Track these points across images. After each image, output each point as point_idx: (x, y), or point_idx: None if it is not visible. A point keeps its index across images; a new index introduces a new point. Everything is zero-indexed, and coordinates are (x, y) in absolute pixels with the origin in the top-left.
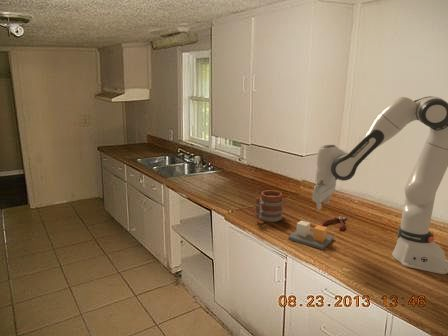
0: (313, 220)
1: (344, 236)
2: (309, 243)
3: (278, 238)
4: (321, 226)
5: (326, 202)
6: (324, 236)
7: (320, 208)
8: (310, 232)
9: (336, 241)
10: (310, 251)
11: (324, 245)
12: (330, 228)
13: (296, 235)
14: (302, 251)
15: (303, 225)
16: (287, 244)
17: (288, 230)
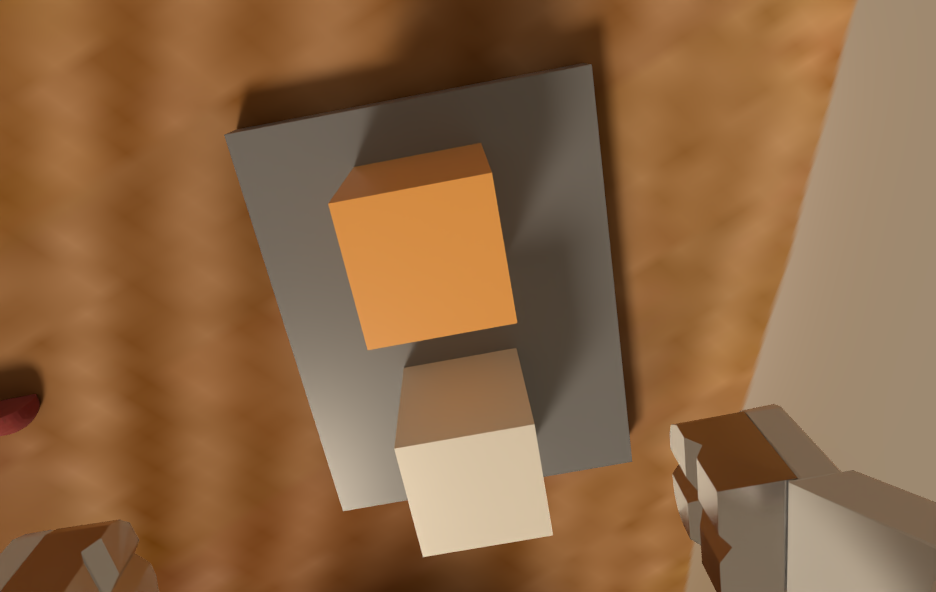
0: None
1: (31, 75)
2: (608, 235)
3: None
4: (372, 283)
5: (109, 581)
6: (430, 162)
7: (789, 416)
8: (365, 378)
9: (250, 70)
10: (718, 140)
11: (543, 75)
12: (7, 316)
13: (552, 427)
14: (775, 199)
15: (538, 456)
16: (733, 384)
17: None
